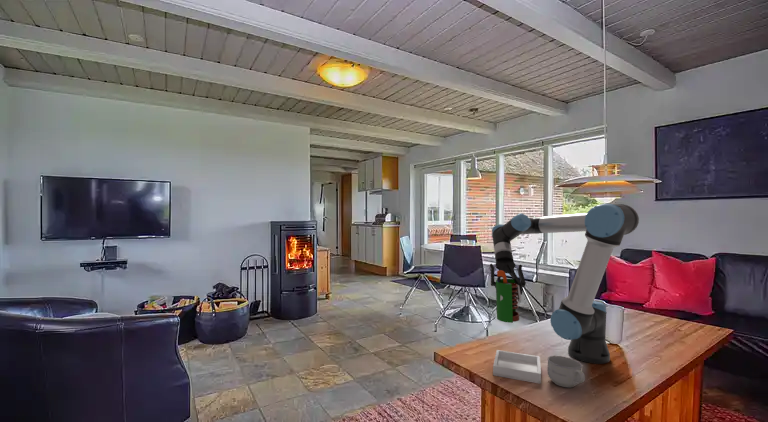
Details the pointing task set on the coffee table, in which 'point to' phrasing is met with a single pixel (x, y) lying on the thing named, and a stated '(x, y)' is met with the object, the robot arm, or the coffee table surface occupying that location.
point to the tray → (517, 366)
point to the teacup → (565, 371)
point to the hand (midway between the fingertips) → (510, 300)
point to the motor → (506, 299)
